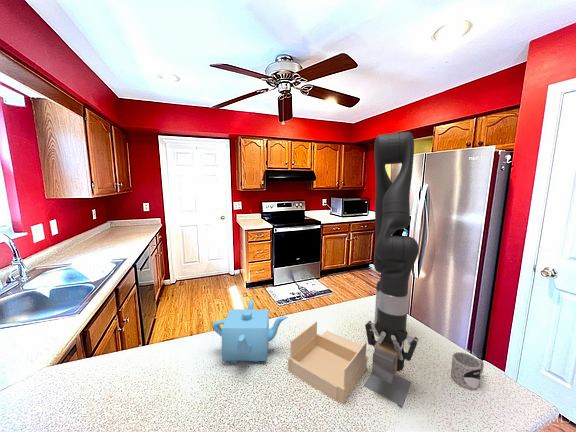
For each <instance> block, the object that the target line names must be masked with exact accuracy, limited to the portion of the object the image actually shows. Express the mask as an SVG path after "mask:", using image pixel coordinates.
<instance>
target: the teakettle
mask: <svg viewBox="0 0 576 432" xmlns="http://www.w3.org/2000/svg"><path fill="white" fill-rule="evenodd" d="M287 319H288V316H285V315H283V316H279V317H277V318H276V319H275V321H274V322H273V326H271V328H270V309H260V308H259V309H255V308H254V300H253V299H250V300H249V302H248V307H247V308H246V309H244V308H243V309H240V308H239V309H231V308H230V309H229V311H228V313H227V315H226V317H225V319H219V320H215V321H214V322H213V323H212V329H213V331H214V332H215V333H217V335H218V336H220V337H221V362H229V364H230V365H236V364H238V363H239V362H253V363H259V362H267V360H268V350H269V349H268V347H269V342H271V341H273V340H274V338H276V336H277V333H278V329H279V327H280V324H281V323H282V322H283V321H285V320H287ZM220 325H222V327H221V326H220Z"/></svg>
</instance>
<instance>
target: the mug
mask: <svg viewBox="0 0 576 432" xmlns="http://www.w3.org/2000/svg"><path fill="white" fill-rule="evenodd" d="M484 363H485V362H484V361H483V360H482V359H481V358H476V357H474V356H472V355H471V354H469V353H465V352H462V351H461V352H460V351H459V352H458V351H457V352H456V351H455V352H453V354H452V358H451V367H450V368H451V369H450V370H451V371H450V378H451V380H452V381H453V382H454V383H455V384H456V385H458V386H459V387H461V388H463V389H466V390H470V391H476V390H478V389H479V386H480V378H481V375H483V372H484Z"/></svg>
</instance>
